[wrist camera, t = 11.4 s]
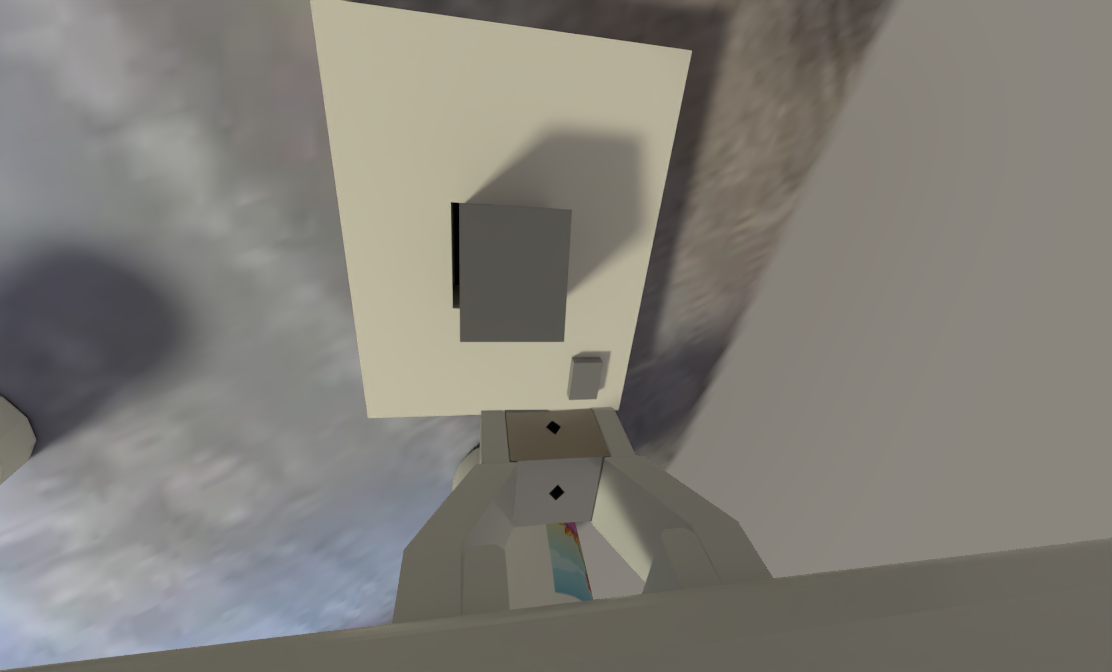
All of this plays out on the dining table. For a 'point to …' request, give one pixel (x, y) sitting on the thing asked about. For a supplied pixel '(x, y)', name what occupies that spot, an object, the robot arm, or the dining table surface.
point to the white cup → (13, 439)
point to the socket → (491, 194)
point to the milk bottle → (540, 559)
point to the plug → (513, 273)
